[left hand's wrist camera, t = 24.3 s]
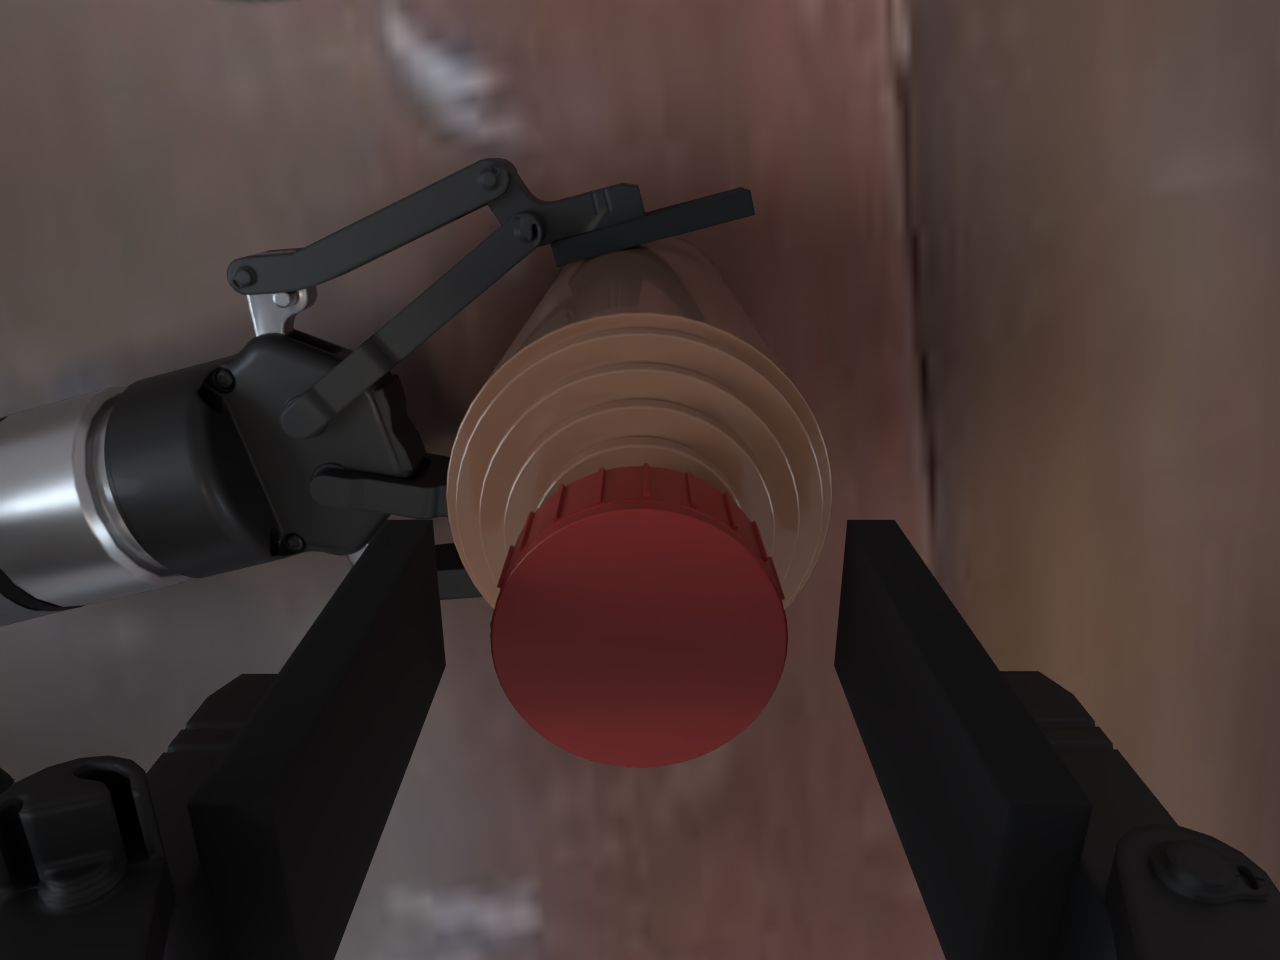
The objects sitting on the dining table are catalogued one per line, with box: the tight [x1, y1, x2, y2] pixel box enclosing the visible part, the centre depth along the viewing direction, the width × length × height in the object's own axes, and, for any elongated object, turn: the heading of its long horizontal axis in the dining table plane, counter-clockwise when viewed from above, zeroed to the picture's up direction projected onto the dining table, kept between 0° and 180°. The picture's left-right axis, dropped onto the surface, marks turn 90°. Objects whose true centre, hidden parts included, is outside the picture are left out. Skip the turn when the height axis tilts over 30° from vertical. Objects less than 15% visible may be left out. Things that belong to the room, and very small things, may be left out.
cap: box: [490, 463, 788, 767], centre depth 14 cm, size 4×4×2 cm
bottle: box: [446, 236, 833, 610], centre depth 25 cm, size 8×8×24 cm
